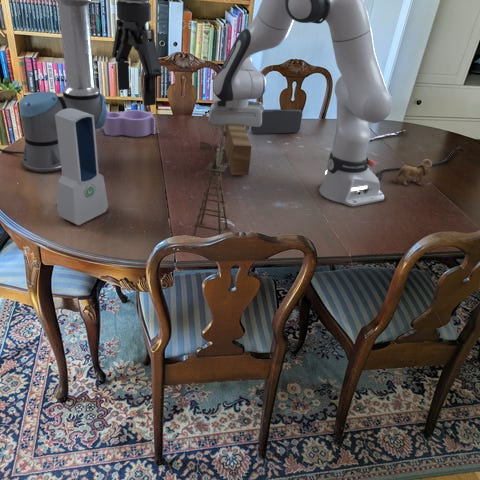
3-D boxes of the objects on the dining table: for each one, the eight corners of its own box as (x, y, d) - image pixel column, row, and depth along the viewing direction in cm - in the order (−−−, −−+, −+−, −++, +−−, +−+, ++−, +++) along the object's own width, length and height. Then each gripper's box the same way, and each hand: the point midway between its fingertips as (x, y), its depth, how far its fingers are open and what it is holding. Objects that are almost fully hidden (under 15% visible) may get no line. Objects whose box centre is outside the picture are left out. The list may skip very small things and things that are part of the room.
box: (248, 175, 164) (251, 146, 158) (231, 174, 163) (234, 145, 157) (239, 147, 186) (241, 120, 180) (224, 146, 185) (226, 119, 179)
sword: (403, 130, 224) (403, 128, 224) (408, 133, 222) (409, 130, 222) (360, 142, 209) (360, 139, 208) (365, 144, 207) (365, 142, 206)
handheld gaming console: (297, 130, 211) (300, 108, 206) (299, 132, 209) (303, 110, 204) (249, 131, 204) (252, 109, 199) (252, 134, 202) (254, 111, 197)
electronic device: (75, 227, 128) (63, 121, 112) (57, 218, 131) (42, 113, 115) (109, 210, 137) (102, 110, 121) (90, 202, 140) (81, 103, 124)
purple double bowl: (105, 137, 184) (104, 120, 180) (103, 126, 193) (101, 110, 190) (156, 136, 190) (156, 119, 186) (151, 125, 200) (151, 109, 196)
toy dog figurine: (420, 178, 179) (427, 156, 174) (429, 184, 174) (437, 162, 170) (388, 181, 174) (395, 158, 169) (397, 187, 170) (404, 164, 165)
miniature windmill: (221, 244, 128) (229, 139, 111) (191, 238, 129) (195, 134, 112) (228, 227, 135) (237, 127, 119) (200, 222, 136) (205, 122, 120)
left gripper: (178, 10, 97) (176, 110, 109) (124, -7, 113) (127, 82, 125) (145, 9, 93) (147, 114, 105) (94, -8, 109) (100, 84, 121)
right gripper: (263, 99, 176) (258, 134, 184) (209, 96, 173) (207, 132, 181) (265, 104, 171) (261, 140, 179) (210, 101, 168) (208, 138, 175)
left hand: (136, 97), depth 115 cm, fingers open, 13 cm apart
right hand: (233, 136), depth 180 cm, fingers closed on box, 6 cm apart
